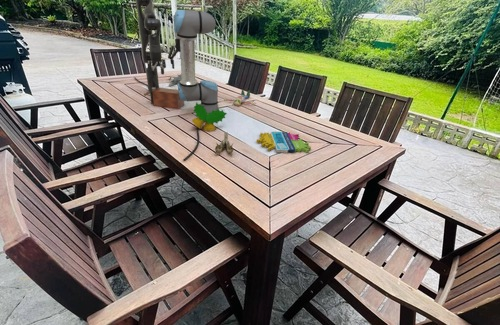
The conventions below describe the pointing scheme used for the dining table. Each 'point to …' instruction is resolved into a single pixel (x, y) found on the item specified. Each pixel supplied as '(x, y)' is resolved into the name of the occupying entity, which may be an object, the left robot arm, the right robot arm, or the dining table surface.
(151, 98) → the drawer
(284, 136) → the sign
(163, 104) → the cabinet
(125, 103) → the dining table surface
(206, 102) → the right robot arm
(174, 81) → the airplane
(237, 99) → the toy
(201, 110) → the ornament
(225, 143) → the jawbone
